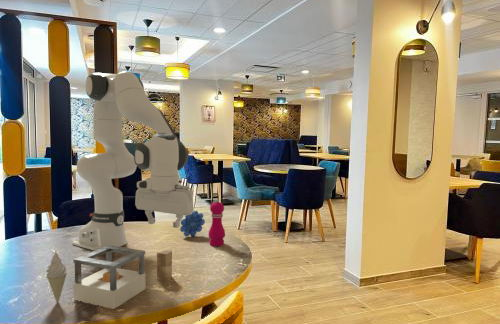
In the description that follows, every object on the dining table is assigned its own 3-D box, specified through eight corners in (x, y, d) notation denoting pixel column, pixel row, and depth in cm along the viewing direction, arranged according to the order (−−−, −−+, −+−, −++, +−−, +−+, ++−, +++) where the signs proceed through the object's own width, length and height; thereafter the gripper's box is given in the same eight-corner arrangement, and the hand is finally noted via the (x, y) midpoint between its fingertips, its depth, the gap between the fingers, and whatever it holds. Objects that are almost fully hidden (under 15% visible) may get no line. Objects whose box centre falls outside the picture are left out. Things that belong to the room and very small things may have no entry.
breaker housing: (74, 300, 104) (73, 283, 104) (109, 281, 117) (108, 266, 117) (113, 309, 99) (113, 291, 99) (145, 288, 112) (145, 273, 112)
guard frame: (73, 283, 104) (73, 259, 103) (108, 266, 117) (108, 245, 116) (113, 291, 99) (113, 266, 98) (145, 273, 112) (145, 250, 111)
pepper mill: (222, 247, 154) (223, 200, 152) (206, 246, 155) (206, 199, 153) (226, 242, 161) (227, 197, 159) (211, 241, 162) (211, 196, 160)
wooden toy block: (156, 279, 119) (156, 252, 119) (163, 275, 123) (162, 249, 122) (166, 281, 118) (166, 254, 117) (171, 277, 121) (172, 251, 121)
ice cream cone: (52, 298, 105) (50, 248, 103) (70, 298, 105) (69, 247, 104) (43, 307, 100) (42, 253, 98) (63, 306, 100) (61, 253, 99)
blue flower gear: (202, 232, 175) (202, 208, 174) (206, 236, 169) (206, 211, 168) (178, 234, 171) (178, 209, 170) (181, 238, 165) (181, 212, 164)
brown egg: (99, 292, 107) (99, 275, 106) (110, 286, 111) (110, 270, 110) (112, 294, 105) (111, 277, 105) (122, 288, 109) (122, 272, 109)
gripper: (197, 185, 117) (196, 227, 119) (144, 179, 124) (144, 219, 126) (187, 188, 111) (186, 232, 113) (132, 182, 118) (132, 223, 120)
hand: (163, 225), depth 119 cm, fingers open, 8 cm apart
